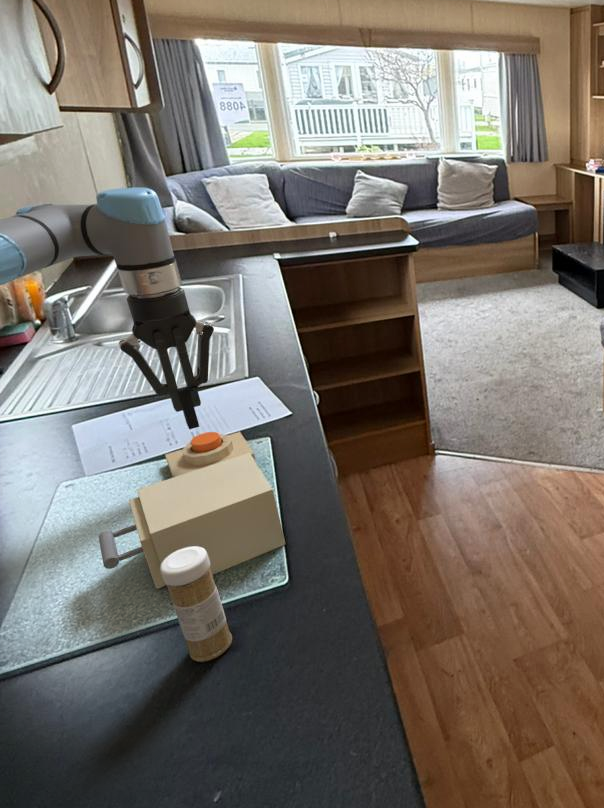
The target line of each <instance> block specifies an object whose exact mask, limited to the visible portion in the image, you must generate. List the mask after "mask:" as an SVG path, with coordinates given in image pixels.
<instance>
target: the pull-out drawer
mask: <svg viewBox="0 0 604 808" xmlns="http://www.w3.org/2000/svg"><path fill="white" fill-rule="evenodd" d="M128 502H129V506H130V510H131V512H132V513H131V514H132V517H133V521H134V524H133V525H129V526H126V527H124V528H121V529H118V530H116V531H111V530H103V531H102V532H101V533H99V535H98V542H99V547H100V553H101V558H102V563H103V564H102V565H103V567H104V568H105V569H106V570H107V569H108V570H111V569H115V568H116V567H118V566H119V564H120V562H122V561H124V560H126V559H129V558H133V557H135V556H137V555H140V554H144V558H145V560H146V563H147V566H148V569H149V572H150V575H151V578H152V580H153V581H152V582H153V583H154V586H155V589H157V590H158V589H160V588H162V587H165V586H167V585H166V583H165V582H164V580H163V577H162V574H161V571H160V566H161V565H160V562H159V559H158V556H157V553H156V550H155V547H154V544H153V541H152V538H151V535H150V532H149V529H148V525H147V522H146V519H145V515H144V512H143V509H142V505H141V502H140V499H139V496H138V497H134V498H132V499H129V500H128ZM135 531H136V532H137V535H138V538H139V542H140V545H141V546H140V547H137V548H134V549H132V550H129V551H126V552H124V553H120V554H119V553H118V549H117V546H116V545H117V544H116V540H115V538H118V537H120V536H123V535H126V534H129V533H133V532H135Z"/></svg>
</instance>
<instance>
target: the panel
mask: <svg viewBox="0 0 604 808" xmlns="http://www.w3.org/2000/svg"><path fill="white" fill-rule="evenodd" d="M219 434H220V438H221V442H222V445H221V446H220V447H218V448H216V449H215V450H212V451H208V452H203V453H195V452H193V449H192V445H191V441H190V442H188V443H186V444H185V446H184V447H183V448H182V449H178V450H175V451H172V452H169V453H166V454H164V457H165V459H166V460H165V461H166V463H167V467H168V469H169V471H170V474H171V476H172V478H173V477H177V476H180V475H183V474H186V473H189V472H192V471H195V470H198V469H201V468H204V467H207V466H210V465H213V464H216V463H219V462H222V461H226V460H229V459H232V458H235V457H238V456H241V455H244V454H247V453H250V454H251V456H252V458H253V459H254V461H255V462H256V464H257V465H258V463H257V460H256V455H255V453H254V451H253V449H252V448H251V446H250V444H248V442H247V440H246V438H245V437H244V436H243V434H242V432H241V431H237V432H234V433H231V434H228V435H227V434H222V433H219Z"/></svg>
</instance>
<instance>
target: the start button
mask: <svg viewBox="0 0 604 808" xmlns="http://www.w3.org/2000/svg"><path fill="white" fill-rule="evenodd" d="M220 434H221V433H219V432H216V431H207V432H203V433H200V434H197V435H195V436H194V437H193V438H191V440H190V442H191V445H192V449H193V452H195V453H203V452H208V451H212V450H215V449H216V448H218V447H220V446H221V445H222V442H221V438H220Z"/></svg>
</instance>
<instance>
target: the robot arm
mask: <svg viewBox="0 0 604 808" xmlns="http://www.w3.org/2000/svg"><path fill="white" fill-rule="evenodd" d="M166 220H167V217H166V214H164V211H163V207H162V205H161V202H160V199H159V196H158V194H157V192H155V190H153V189H151V188H149V187H140V186H139V187H126V188H123V187H122V188H121V187H120V188H113V189H112V188H111V189H107V190H102V191H100V192H99V193H97V195H96V203H94V204H93V203H92V204H52V203H43V204H40V205H29V206H27V205H26V206H23V207H21V208H19V209H18V210H17V211H16V213H14V215H13V216H12V215H11V216H9V217H5V218H1V219H0V286H3V285H6V284H8V283H11V282H13V281H15V280H18V279H20V278H23V277H25V276H27V275H30V274H33V273H35V272H38V271H40V270H43V269H47V268H49V267H52V266H54V265H57V264H60V263H63V262H66V261H68V260H72V259H73V258H78V257H90V256H111V255H112V257H113V259H114V263H115V266H116V268H117V272H118V276H119V279H120V283H121V286H122V290H123V292H124V294H126V295H128V296H127V298H126V301H127V305H128V309H129V312H130V316H131V318H132V323H133V325H132V328H131V334H130V335H129V336H127V338H125V339H121V340H119V342H118V346H119V349H120V351H122V352H123V353H125V354H126V355H127V356H129V357H130V358H131V359H132V360H133V361H134V363H135V364H136V366H137V368H138V369H139V370H140V372H141V373H142V375H143V376H144V378H145V379H146V381H147V382H148V383H149V385H150V386H151V388H152V390H153V391H154V392H155V394H156V395H158V396H161V395H169V397H170V400H171V404H172V408H173V409H174V411H175V412H176V413H179V412H182V413H183V416H184V419H185V423H186V426H187V428H188V429H189V430H192V429H196V428H197V429H198V428H200V423H199V420H198V416H197V412H196V409H195V408H196V407H200V406H201V403H202V401H201V397H200V394H199V390H198V388H199V387H200V386H201V385H202V384H207V383H208V381H209V364H210V363H209V361H210V360H209V359H210V339H211V337H212V336H213V333H214V331H215V328H214V327H213V325H212V324H211V322H208V321H205V322H202V321H199V320H197V319H196V318H195V316H194V315H193V314H192V313H191V310H190V307H189V304H188V300H187V295H186V292H185V289H184V288H182V287H181V286H182V284H183V281H182V278H181V274H180V270H179V268H178V263H177V260H176V257H175V253H174V249H173V245H172V241H171V237H170V234H169V230H168V226H167V225H168V224H167V221H166ZM194 329H195V333H196V335H197V355H196V356H197V357H196V358H197V359H196V360H197V361H196V375H194V371H193V369H192V364H191V360H190V358H189V352H188V349H187V345H186V343H187V342H188V341H189V338H190V337H191V335H192V333H193V331H194ZM139 341H140V342H142V343H144V344H145V345H147V346H148V347H150V348H152V349H153V350H155V351H156V353H157V356H158V360H159V364H160V367H161V370H162V374H163V378H164V381H165V383H162V382H161V380H160V379H159V378H158V377H157V374H156V373H155V372H154V371H153V369H152V367H151V366H150V365H149V363H148V362H147V360H146V358H145V356H144V354H143V353H142V352H141V350H140V348H141V346H140V345H141V344H140V342H139ZM170 348H175V351H176V354H177V357H178V361H179V365H180V369H181V372H182V375H183V378H184V382H185V385H186V386H183V387H178V383H177V380H176V377H175V373H174V370H173V366H172V363H171V359H170V356H169V355H170V354H169V352H168V349H170Z"/></svg>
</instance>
